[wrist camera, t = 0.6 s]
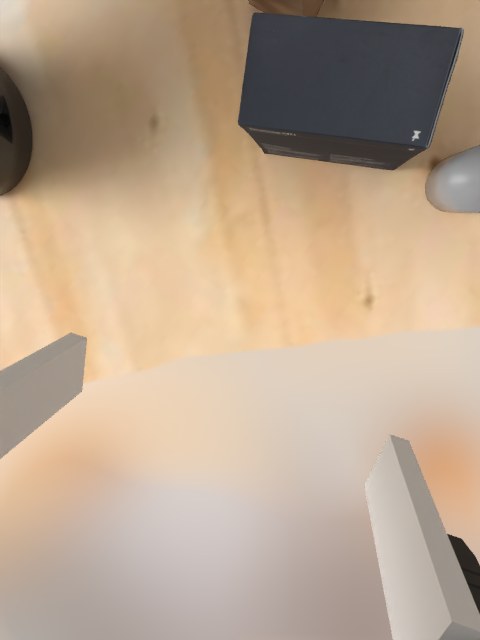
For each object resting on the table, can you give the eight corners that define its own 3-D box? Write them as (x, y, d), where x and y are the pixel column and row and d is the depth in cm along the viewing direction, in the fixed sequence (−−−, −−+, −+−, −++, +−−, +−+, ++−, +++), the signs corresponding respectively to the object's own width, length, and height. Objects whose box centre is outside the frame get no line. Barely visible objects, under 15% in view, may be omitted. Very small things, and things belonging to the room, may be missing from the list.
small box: (417, 89, 32) (471, 23, 20) (395, 171, 34) (432, 152, 23) (273, 75, 34) (250, 8, 22) (261, 153, 36) (235, 127, 25)
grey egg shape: (413, 185, 34) (436, 179, 27) (461, 142, 32) (497, 125, 25) (447, 223, 34) (478, 226, 28) (496, 183, 32) (541, 177, 26)
